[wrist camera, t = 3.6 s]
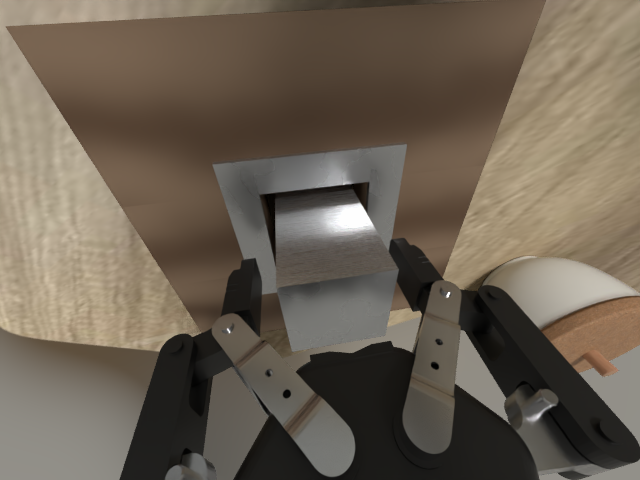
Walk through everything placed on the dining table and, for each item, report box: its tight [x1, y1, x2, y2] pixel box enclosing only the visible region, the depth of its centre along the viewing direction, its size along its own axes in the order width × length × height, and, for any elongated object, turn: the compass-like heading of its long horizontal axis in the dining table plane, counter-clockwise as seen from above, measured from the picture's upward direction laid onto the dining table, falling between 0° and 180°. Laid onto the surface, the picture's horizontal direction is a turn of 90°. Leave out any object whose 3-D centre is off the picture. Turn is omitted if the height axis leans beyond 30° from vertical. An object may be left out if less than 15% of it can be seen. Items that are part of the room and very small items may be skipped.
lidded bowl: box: [482, 256, 640, 377], centre depth 25 cm, size 13×13×11 cm
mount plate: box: [6, 0, 546, 333], centre depth 18 cm, size 22×22×3 cm
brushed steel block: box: [275, 184, 399, 352], centre depth 15 cm, size 5×5×10 cm
